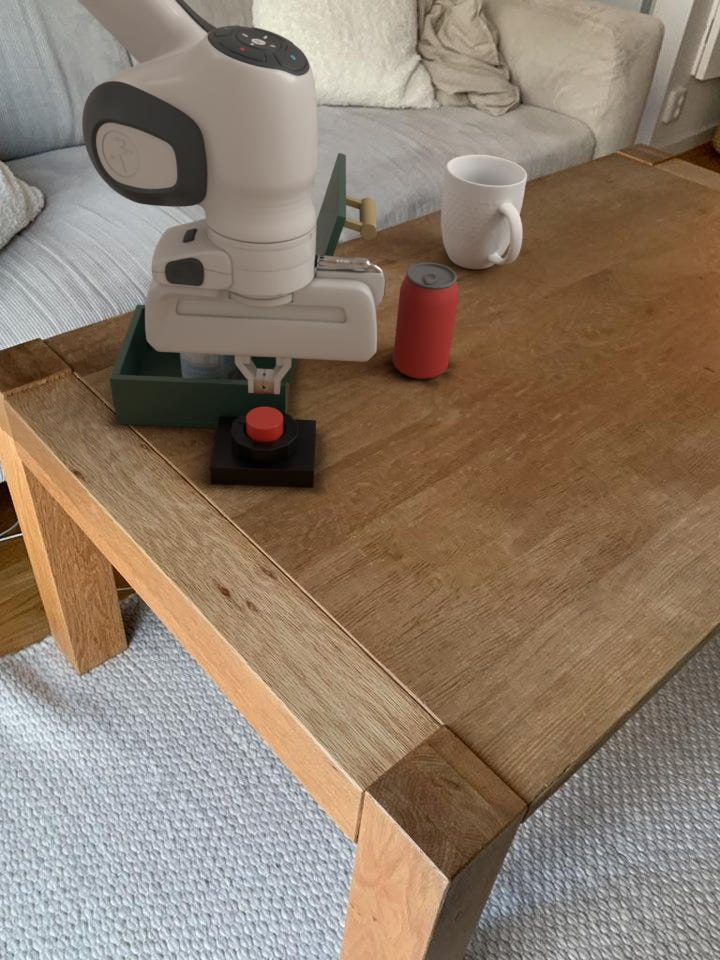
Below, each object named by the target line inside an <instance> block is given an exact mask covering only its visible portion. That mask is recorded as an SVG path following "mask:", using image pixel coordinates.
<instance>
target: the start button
mask: <svg viewBox="0 0 720 960" xmlns="http://www.w3.org/2000/svg"><path fill="white" fill-rule="evenodd" d="M246 432H247V435H248V437H249V438H250V439H252V440H255V441H257V442H271V441H274V440H278V439H279V438H280V437H281V436H282V434H283V415H282V414H281V412H280V411H278V410H277V409H275V408H272V407H258V408H255V409H252V410H251V411H249V412H248V414H247V416H246Z"/></svg>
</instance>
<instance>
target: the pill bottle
mask: <svg viewBox="0 0 720 960" xmlns="http://www.w3.org/2000/svg"><path fill="white" fill-rule="evenodd" d="M180 359H181V368H182V377H183V378H207V379H231V380H237V379H238V368H237V366H236V364H235V355H217V354H197V353H180Z"/></svg>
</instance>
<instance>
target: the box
mask: <svg viewBox="0 0 720 960" xmlns="http://www.w3.org/2000/svg"><path fill="white" fill-rule="evenodd" d="M251 360H252V362H253V363H254V365H255V366H256V368H257V369H274V368H275V366H276V357H258V356H251ZM237 368H238V367H237ZM109 385H110V389H111V391H110V392H111V396H112V401H113V408H114V413H115V418H116V419H115V420H116V424H117V425H124V426H125V425H129V426H153V427H176V428H177V427H179V428H201V429H202V428H203V429H204V428H205V429H217V426H218V420H219V416H226V417H239V416H240V415H241V414H242V413H245V412H248V411H251V410H252V409H255V408H258V407H272V408H275V409H277V410H279V411H282V412H284V413H287V414H288V409H289V408H288V407H289V397H290V396H289V395H290V385H291V382H290V383H287V382H283V381H282V380H281V386H280V394H266V393H264V394H263V393H249V392H248V379H246V378H245V376H244V375H243V374H242V372H241V371H240V370H239V368H238V379H237V380H231V379H207V378H183V377H182V368H181V359H180V353H176V352H159V351H156V350H155V349H154V348H153V347H152V346H151V345H150V344H149V343H148V342H147V339H146V330H145V304H136V305H135V308H134V311H133V314H132V317H131V319H130V322H129V324H128V327H127V331H126V333H125V336H124V338H123V342H122V344H121V347H120V350H119V352H118V355H117V357H116V360H115V363H114V366H113V369H112V372H111V374H110V376H109Z"/></svg>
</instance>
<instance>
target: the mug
mask: <svg viewBox="0 0 720 960" xmlns="http://www.w3.org/2000/svg"><path fill="white" fill-rule="evenodd" d="M527 179H528V173H527V171H526V170H525V169H524V168H523V167H522V166H521V165H520V164H518V163H516V162H514V161H511V160H509V159H506V158H502V157H499V156H495V155H488V154H466V155H460V156H457V157H454V158H452V159H450V160H449V161H448V162H447V163H446V166H445V173H444V180H443V186H442V195H441V201H440V202H441V204H440V207H441V208H440V229H441V238H442V243H443V246H444V249H445V252H446V254H447V257H448V258H449V260H450V261H451V262H452V263H453V264H454V265H456V266H458V267H461V268H464V269H468V270H485V269H488V268H490V267H492V266H494V265H498V266H507V265H510V264H512V263H513V262H515V261H516V260H517V258H518V256H519V255H520V252H521V249H522V244H523V224H522V219H521V216H520V214H521V211H522V207H523V203H524V202H523V201H524V197H525V191H526V186H527ZM507 249H508V251H507V253H506V255H505V257H504V258H503V255H504V254H505V252H506V250H507Z"/></svg>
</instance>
